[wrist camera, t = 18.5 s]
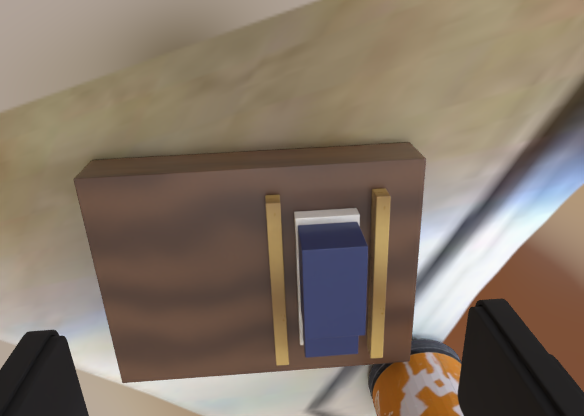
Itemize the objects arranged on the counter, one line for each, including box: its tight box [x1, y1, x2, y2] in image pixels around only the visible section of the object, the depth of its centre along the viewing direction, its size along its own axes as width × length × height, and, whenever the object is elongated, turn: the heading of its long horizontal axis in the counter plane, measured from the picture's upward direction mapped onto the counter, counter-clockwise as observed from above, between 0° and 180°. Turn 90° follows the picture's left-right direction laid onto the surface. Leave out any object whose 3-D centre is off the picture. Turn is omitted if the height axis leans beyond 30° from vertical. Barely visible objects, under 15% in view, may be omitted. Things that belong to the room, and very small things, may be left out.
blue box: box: [294, 208, 368, 358], centre depth 34 cm, size 11×4×5 cm, turn 2°
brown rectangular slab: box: [74, 142, 426, 383], centre depth 38 cm, size 18×24×6 cm
